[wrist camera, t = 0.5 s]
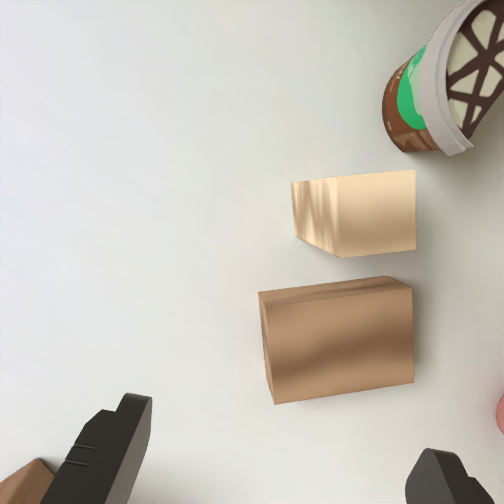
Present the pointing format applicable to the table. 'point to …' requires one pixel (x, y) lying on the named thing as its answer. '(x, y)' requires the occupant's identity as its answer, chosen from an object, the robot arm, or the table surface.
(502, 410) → the pink vase
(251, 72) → the table surface
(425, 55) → the food container
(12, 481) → the wooden block
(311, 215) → the oak post
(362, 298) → the base block
